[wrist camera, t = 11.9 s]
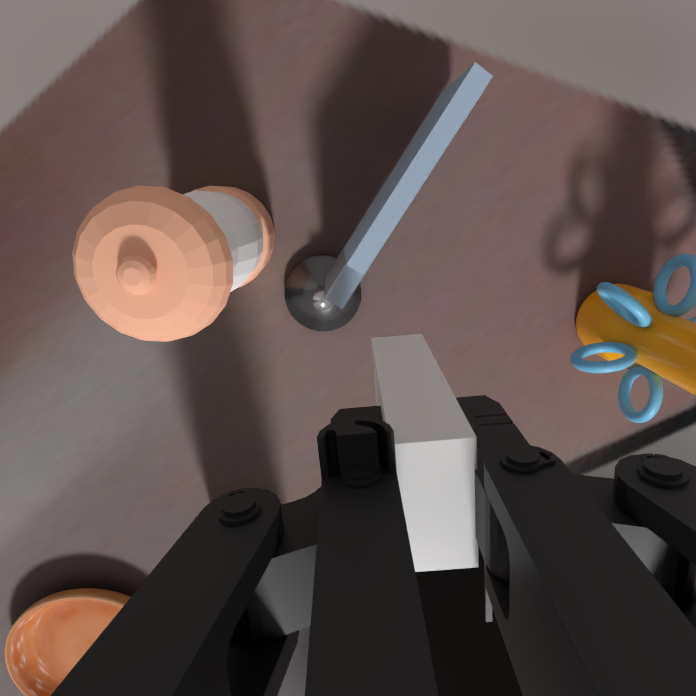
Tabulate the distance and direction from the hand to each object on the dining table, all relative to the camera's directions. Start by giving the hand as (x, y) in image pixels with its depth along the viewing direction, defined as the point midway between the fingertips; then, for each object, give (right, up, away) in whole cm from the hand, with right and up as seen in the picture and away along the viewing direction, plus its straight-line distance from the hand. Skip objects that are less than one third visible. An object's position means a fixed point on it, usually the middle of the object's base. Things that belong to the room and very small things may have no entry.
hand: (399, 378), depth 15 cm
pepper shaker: (-11, +10, +23) cm, 28 cm away
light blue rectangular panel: (+1, +12, +21) cm, 25 cm away
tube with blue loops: (+20, +3, +26) cm, 33 cm away
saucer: (-26, -28, +35) cm, 52 cm away
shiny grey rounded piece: (-4, +5, +25) cm, 26 cm away
